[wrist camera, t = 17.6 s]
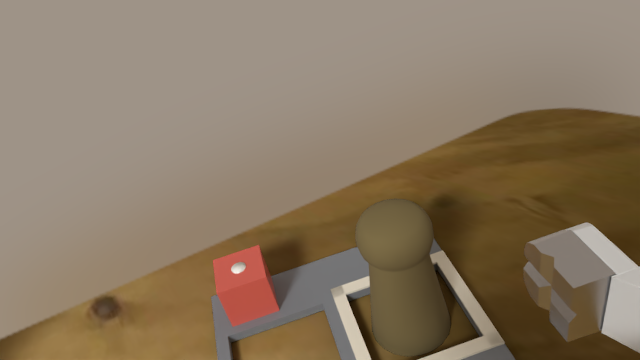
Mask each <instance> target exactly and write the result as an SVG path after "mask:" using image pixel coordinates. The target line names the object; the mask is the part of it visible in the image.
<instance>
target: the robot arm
mask: <svg viewBox="0 0 640 360" xmlns="http://www.w3.org/2000/svg"><path fill="white" fill-rule="evenodd" d="M524 256H525V257H526V258H527V259H528V260H529V261H528V263H527V264H526V266H525V267H524V268H523V273H524V282H525V285H526V288H527V290H528V292H529V294H530V296H531V298H532V299H533V300H534V301H535V303H536V304H537V305H538V306H539V307H542V308H544V309H546V310H549V311H550V317H549V320H550V322H551V323H552V324H553V325H554V327H555V328H556V329H557V330H558V332H559V333H560V334H561V335H562V337H563V338H564V339H565V340H566V342H569V341H572V340H575V339H578V338H581V337H584V336H588V335H591V334H594V333H597V332H600V331H602V333H603V334H605V335H607V336H608V337H610V338H612V339H614V340H616V341H618V342H620V343H622V344H623V345H625V346H627V347H629V348H631V349H633V350H635V351H637V352H638V353H640V266H638V265H636V264H635V263H634V262H633V261H632V260H631V259H630V258H629V257H628V256H626V255H625V254H624V253H623V252H622V251H621V250H620V249H619V248H618V247H616V246H615V245H614V244H613V243H612V242H611V241H610V240H609V239H608V238H606V237H605V236H604V235H603V234H602V233H601V232H600V231H599V230H598V229H596V228H595V227H594V226H593V225H592V224H590V223H587V222H586V223H583V224H580V225H577V226H574V227H571V228H568V229H566V230H561V231H559V232H556V233H553V234H550V235H547V236H544V237H542V238H539V239H536V240H533V241H530V242H527V244H526V245H525V247H524Z"/></svg>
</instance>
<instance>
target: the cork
mask: <svg viewBox="0 0 640 360" xmlns="http://www.w3.org/2000/svg"><path fill="white" fill-rule="evenodd" d="M433 239H434V233H433V226H432V222H431V220H430V218H429V216H428V215H427V213H426V212H425V210H424V209H422V208H421V207H420V206H419V205H417V204H416V203H414V202H412V201H408V200H405V199H389V200H384V201H381V202H378V203H375V204H374V205H372V206H370V207H369V208H367V209H366V210H365V211H364V212H363V213H362V215H361V217H360V219H359V221H358V223H357V225H356V239H355V240H356V244H357V247H358V249H359V251H360V253H361V255H362V257H363V258H364V260H365V261H367V262H368V263H369V280H370V299H371V319H372V332H373V334H374V337H375V339H376V341H377V342H378V343H379V344H380V345H381V346H382V347H383V348H384V349H386V350H387V351H389V352H391V353H393V354H396V355H401V356H407V357H408V356H420V355H423V354H426V353H429V352H431V351H433V350H435V349H436V348H437V347H439V346H440V345H441V344H442V343H443V342H444V340H445V339H446V338H447V336H448V335H449V331H450V326H451V321H450V315H449V312H448V309H447V306H446V303H445V300H444V297H443V293H442V290H441V287H440V284H439V281H438V278H437V275H436V272H435V269H434V266H433V263H432V260H431V257H430V254H429V253H430V251H431V247H432V244H433Z"/></svg>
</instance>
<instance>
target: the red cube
mask: <svg viewBox="0 0 640 360" xmlns="http://www.w3.org/2000/svg"><path fill="white" fill-rule="evenodd" d="M213 265H214V274H215V283H216V291H217V295H218V297H219V299H220V301H221V304H222V306H223V308H224V310H225V312H226V314H227V316H228V318H229V320H230V322H231V324H232V326H233V327H234V326H237V325H240V324H242V323H245V322H248V321H251V320H254V319H257V318H260V317H263V316H265V315H268V314H271V313H274V312H277V311H280V310H279V306H278V302H277V298H276V294H275V290H274V286H273V282H272V278H271V275H270V272H269V270H268V267H267V265H266V262H265V260H264V257H263V254H262V252H261V249H260V247H259V245H257V246H254V247H251V248H248V249H245V250H242V251H239V252H236V253H233V254H230V255H227V256H224V257H221V258H218V259H215V260H213Z"/></svg>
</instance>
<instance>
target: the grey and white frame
mask: <svg viewBox="0 0 640 360" xmlns="http://www.w3.org/2000/svg"><path fill="white" fill-rule="evenodd" d="M429 254H430V257H431V260H432V263H433V266H434V269H435V271H437V270H438V271H439V273H440V275H441V276H442V278H443V279H444V281H445V283H446V284H447V286H448V287H449V289H450V290H451V292H452V294H453V295H454V297H455V298H456V300H457V302H458V303H459V305H460V306H461V308H462V309H463V311H464V313H465V314H466V316H467V317H468V319H469V321H470V322H471V324H472V325H473V327H474V328H475V330H476V332H477V333H478V335H479V336H480V337H479V338H476V339H473V340H471V341H468V342H465V343H462V344H460V345H457V346H454V347H451V348H449V349H446V350H443V351H440V352H437V353H435V354H432V355H429V356H426V357H424V358H421V359H418V360H515V358H514V357H513V355H512V354H511V352H510V351H509V349H508V348H507V346H506V345H505V342H504V340H503V339H502V337H501V336H500V334H499V333H498V331H497V330H496V328H495V327H494V325H493V324H492V323H491V321H490V320H489V318H488V317H487V315H486V314H485V312H484V311H483V309H482V308H481V306H480V305H479V303H478V302H477V300H476V299H475V297H474V296H473V294H472V293H471V291H470V290H469V288H468V287H467V285H466V284H465V283H464V281H463V280H462V278H461V277H460V275H459V274H458V272H457V271H456V269H455V268H454V266H453V265H452V263H451V262H450V260H449V259H448V257H447V256H446V254H445V253H444V251H443V250H441V248H440V247H439V245H438V244H437V242H436V241H435V239H433V244H432V247H431V251H430V253H429ZM271 278H272V282H273V286H274V290H275V294H276V298H277V302H278V306H279V310H280V311H277V312H274V313H271V314H268V315H265V316H263V317H260V318H257V319H254V320H251V321H248V322H245V323H242V324H240V325H237V326H234V327H233V326H232V324H231V322H230V320H229V318H228V316H227V314H226V312H225V310H224V308H223V306H222V304H221V301H220V299H219V297H218V295H215V296H212V297H211V299H212V308H213V318H214V328H215V337H216V347H217V356H218V360H233V354H232V347H231V342H234V341H237V340H240V339H243V338H245V337H248V336H251V335H254V334H257V333H260V332H263V331H266V330H268V329H271V328H274V327H277V326H280V325H283V324H286V323H288V322H291V321H294V320H297V319H300V318H303V317H306V316H308V315H311V314H314V313H317V312H320V311H323V310H325V313H326V316H327V319H328V322H329V325H330V328H331V331H332V334H333V336H334V339H335V342H336V345H337V348H338V351H339V354H340V357H341V360H371V358H370V355H369V353H368V350H367V347H366V345H365V342H364V340H363V337H362V335H361V332H360V330H359V327H358V325H357V322H356V320H355V317H354V315H353V312H352V310H351V307H350V305H349V302H348V301H351V300H354V299H357V298H360V297H363V296H366V295H369V294H370V280H369V263H368V262H367V261H365V260H364V258H363V257H362V255H361V253H360V251H359V249H358V247H355V248H352V249H349V250H347V251H344V252H341V253H338V254H335V255H332V256H329V257H326V258H323V259H320V260H317V261H314V262H311V263H309V264H306V265H303V266H300V267H297V268H294V269H291V270H288V271H285V272H282V273H279V274H276V275H273V276H271Z"/></svg>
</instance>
